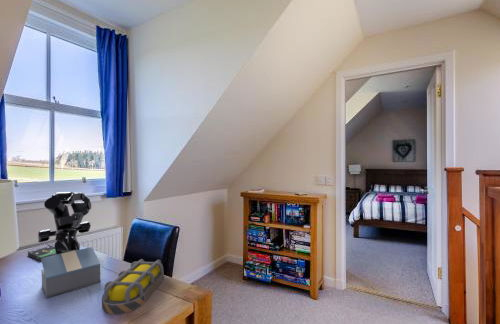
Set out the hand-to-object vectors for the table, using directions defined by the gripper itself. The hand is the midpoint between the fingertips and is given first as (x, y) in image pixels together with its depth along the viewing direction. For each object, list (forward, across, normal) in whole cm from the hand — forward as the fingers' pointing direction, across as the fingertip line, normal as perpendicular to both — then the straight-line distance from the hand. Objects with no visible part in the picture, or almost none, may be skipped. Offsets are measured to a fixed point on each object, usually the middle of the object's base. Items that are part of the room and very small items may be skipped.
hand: (69, 249), depth 114 cm
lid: (+7, -1, -3) cm, 8 cm away
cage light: (+30, +16, -15) cm, 37 cm away
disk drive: (-14, -4, +39) cm, 42 cm away
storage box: (+14, -1, +3) cm, 14 cm away
